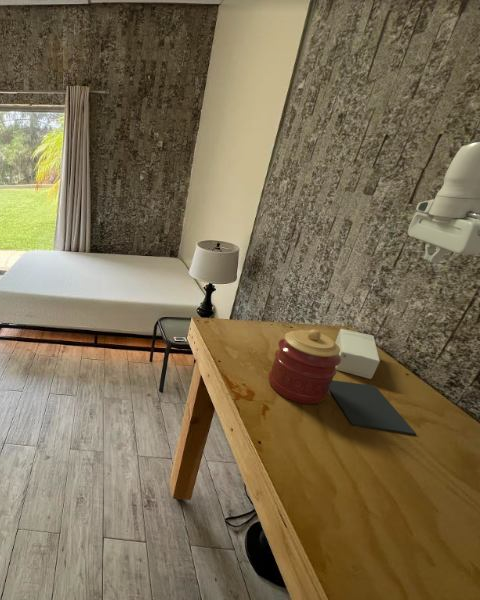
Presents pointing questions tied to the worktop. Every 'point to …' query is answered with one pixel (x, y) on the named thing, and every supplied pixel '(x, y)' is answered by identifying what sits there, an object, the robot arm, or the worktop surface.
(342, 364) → the cosmetic box
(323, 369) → the kitchen canister
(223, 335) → the worktop surface
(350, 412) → the felt mat
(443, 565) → the worktop surface
